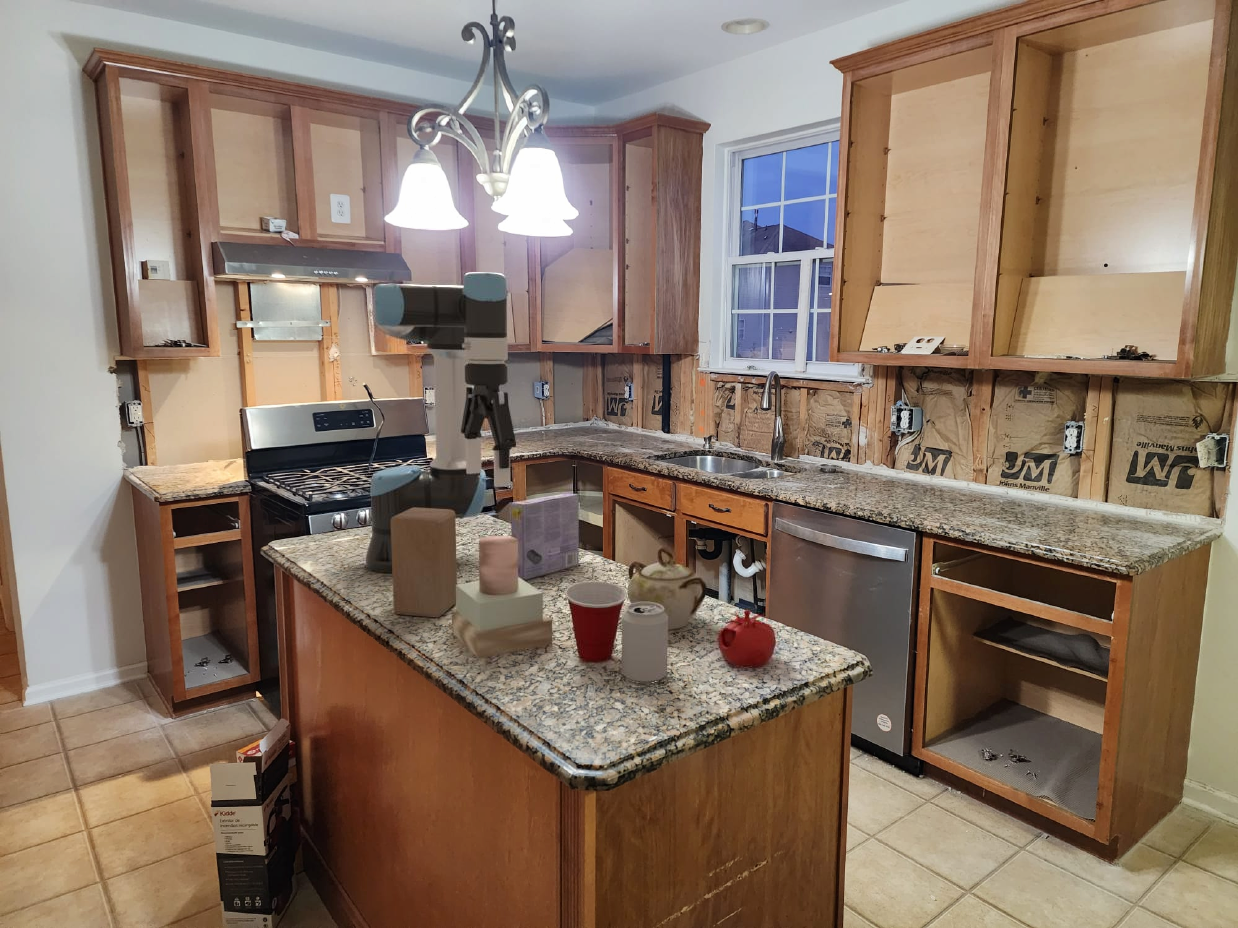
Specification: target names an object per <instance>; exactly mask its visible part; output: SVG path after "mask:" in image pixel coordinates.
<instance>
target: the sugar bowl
mask: <svg viewBox="0 0 1238 928" xmlns="http://www.w3.org/2000/svg"><path fill="white" fill-rule="evenodd" d="M662 553H664V554H665V555H667V557H668V559H669V560H663V556H662V555H663V554H662ZM657 558H658V562H655V563H652V564H651V563H650V564H649V565H646V564H645V563H642V562H638V561H633V562H631V563H630V565H629V567H628V572H627V573H628V578H629V582H628V584H627V590H626V592H627V598H628V600H629V602H630V604H632V603H635V602H654V603H658V604H660V605H662V606H663V607H664V608H665V610H664V612H665V613H666V614H667V616H668V631H670V630H671V631H673V630H679V629H682V628H684V627H686V626H687V625H688V623H689V622H690V620H691V619H692V618H694V616H695V614H696V613H697V611H698V610H699V609H700V607H701V606H702V603H703V602H704V600H705V599H706V595H707V592H708V591H707V589H708V588H707V584H706V583H705V581H704V579H703V578H702V577H699V575H697V574H696V573H695V570H693V569H692V568H691V567H688V566H684V565H682V564H678V563H676V562H675V560H674V555H673V554H672V552H671V551H670V550H669V549H668V548H666V547H661V548H660V549H659V550H658V551H657ZM634 569H635V570H634Z"/></svg>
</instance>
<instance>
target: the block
mask: <svg viewBox="0 0 1238 928" xmlns="http://www.w3.org/2000/svg"><path fill="white" fill-rule="evenodd" d="M456 519H457V518H455V511H453V510H451V509H433V508H416V507H414V508H411V509H409V510H407V511H404V512H402V513H400V514H398V515H396V516H394V517H392V518H391V546H392V573H391V574H392V595H393V599H392V600H393V612H394V614H396V615H404V616H414V617H415V616H416V617H428V618H440V617H441V616H442V615H443V614H445V613H446V612H447V611H448V610H450V609H451V608H452V607H453V606H454V605H456V585H457V584H458V578H457V577H458V574H457V571H458V570H457V568H458V567H457V566H458V564H457V530H456V529H457V528H456V527H457V526H456Z"/></svg>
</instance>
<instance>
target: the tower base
mask: <svg viewBox="0 0 1238 928" xmlns="http://www.w3.org/2000/svg"><path fill="white" fill-rule="evenodd" d="M451 631H452V632H451V633H452V634H453V635H454V636H455V637H456V638H457V639H458V640H459V641H460V642H461V643H462V644H463V645H464V646H465V647H466V648H467V649H468V650H469V651H470V650H471V651H470V652H471V653H472V654H474V655H476V656H475V657H476V658H477V659H479V660H480V659H484V658H489V657H494V656H498V655H503V654H509V653H514V652H519V651H523V650H528V649H534V648H538V647H539V648H540V647H543V646H548V645H552V644H553V619H551V618H550V617H549V616H547V615H546V614H545V613H543V620H538V621H533V622H528V623H522V624H517V625H512V626H506V627H501V628H496V629H490V630H485V631H479V630H478V629H477V628H475V627H474V626H473V625H472V624H471V623H470V622H469V621H468V620H466V619H465V618H464V617H463V616H462V615H461V614H460V613H458V612H457V611H456V608H452V609H451Z"/></svg>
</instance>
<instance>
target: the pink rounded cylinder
mask: <svg viewBox="0 0 1238 928" xmlns="http://www.w3.org/2000/svg"><path fill="white" fill-rule="evenodd" d="M478 575H479V576H478V577H479V578H478V581H479V590H480V592H482V593H484V594H489V595H506V594H511V593H514V592H516V591H517V590H518V539H516V538H514V537H511V536H507V535H495V536H494V535H492V536H485V537H483V538H480V539H479V540H478Z"/></svg>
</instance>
